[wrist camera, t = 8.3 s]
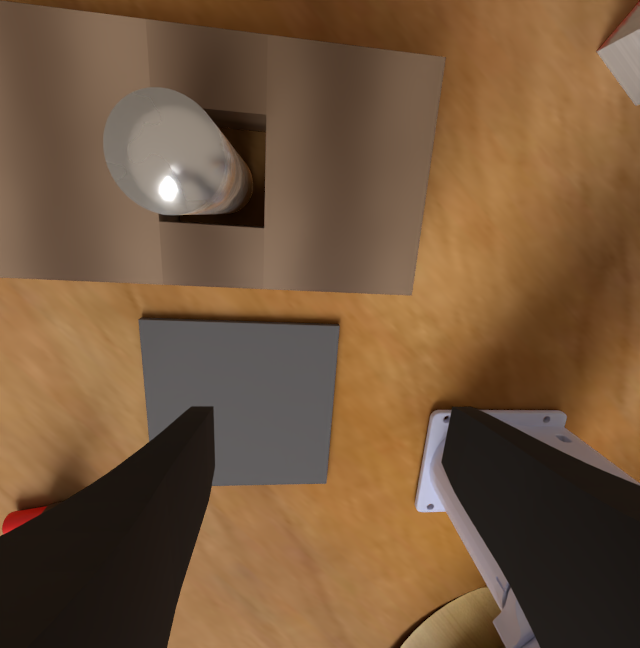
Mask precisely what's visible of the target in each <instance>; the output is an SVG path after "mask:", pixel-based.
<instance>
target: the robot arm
mask: <svg viewBox="0 0 640 648" xmlns="http://www.w3.org/2000/svg"><path fill="white" fill-rule="evenodd" d="M446 416H448V418H447V419H445V420H443V419H444V417H446ZM544 417H545V419H544ZM566 420H567V416H566V414H565V413H563V412H562V411H559V410H478V409H476V408H473V407H452V410H435V411H434V412H433V413H432V414H431V416H430V421H429V426H428V432H427V437H426V443H425V449H424V454H423V460H422V466H421V471H420V477H419V483H418V488H417V494H416V500H415V507H416V509H417V510H418V511H419V512H444V511H446V512H447V514H448V516H449V518H450V520H451V521H452V523H453V525H454V527H455V529H456V530H457V532H458V534H459V536H460V538H461V539H462V541H463V543H464V545H465V547H466V548H467V550H468V552H469V554H470V556H471V557H472V559H473V561H474V563H475V565H476V566H477V568H478V570H479V572H480V574H481V575H482V577H483V579H484V581H485V583H486V584H487V586H488V588H489V590H490V592H491V594H492V595H493V597H494V599H495V601H496V603H497V604H498V606H499V608H500V610H501V613H500V614H499V615H498V616H497V617H496V618H495V619H494V620H493V624H494V626H495V628H496V630H497V631H498V633H499V635H500V637H501V639H502V641H503V643H504V645H505V647H506V648H640V483H639V482H637V481H636V480H635V479H633V478H632V477H631V476H629V475H628V474H626V473H625V472H624V471H622V470H621V469H620V468H618V467H617V466H616V465H614V464H613V463H612V462H610V461H609V460H608V459H606V458H605V457H604V456H602V455H601V454H600V453H598V452H597V451H596V450H594V449H593V448H592V447H590V446H589V445H588V444H586V443H585V442H583V441H582V440H581V439H579V438H578V437H577V436H575V435H574V434H573V433H571V432H570V431H569V430H567V429H566V428H565V427H564V426H565V423H566ZM214 470H215V441H214V406H191V407H190V408H189V409H188V410H186V411H185V412H184V413H183V414H182V415H180V416H179V417H178V418H177V419H176V420H175V421H174V422H172V423H171V424H170V425H169V426H168V427H167V428H165V429H164V430H163V431H162V432H161V433H159V434H158V435H157V436H156V437H155V438H153V439H152V440H151V441H150V442H149V443H147V444H146V445H145V446H144V447H142V448H141V449H140V450H138V451H137V452H136V453H134V454H133V455H132V456H130V457H129V458H128V459H126V460H125V461H124V462H122V463H121V464H120V465H118V466H117V467H116V468H114V469H113V470H111V471H110V472H109V473H107V474H106V475H104V476H103V477H101V478H100V479H98V480H97V481H95V482H94V483H92V484H91V485H89V486H88V487H86V488H84V489H83V490H81V491H80V492H78V493H76V494H75V495H73V496H72V497H70V498H68V499H67V500H65V501H63V502H62V503H60V504H58V505H56V506H55V507H53V508H51V509H49V510H47V511H46V512H44V513H42V514H40V515H38V516H37V517H35V518H33V519H31V520H29V521H27V522H26V523H24V524H22V525H20V526H18V527H17V528H15V529H13V530H11V531H9V532H7V533H5V534H4V535H2V536H0V648H167V645H168V640H169V636H170V631H171V627H172V623H173V618H174V614H175V609H176V605H177V602H178V598H179V595H180V591H181V587H182V584H183V581H184V578H185V575H186V571H187V568H188V565H189V562H190V559H191V556H192V553H193V549H194V546H195V543H196V540H197V537H198V534H199V530H200V527H201V524H202V521H203V518H204V514H205V511H206V508H207V505H208V501H209V497H210V492H211V487H212V481H213V476H214ZM429 504H430V505H429Z"/></svg>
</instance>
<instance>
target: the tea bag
mask: <svg viewBox="0 0 640 648" xmlns="http://www.w3.org/2000/svg"><path fill="white" fill-rule="evenodd" d="M597 53H598V55H599V56H600V57H601V59H602V60H603V61H604V63H605V64H606V66H607V67H608V68H609V70H610V71H611V73H612V74H613V75H614V77H615V78H616V79H617V81H618V82H619V84H620V85H621V86H622V88H623V89H624V91H625V92H626V93H627V95H628V96H629V97H630V99H631V100H632V102H633V103H634V104H635V106H636V105H640V1H639V2H638V3H637V5H636V6H635V7H634V8H633V9H632V10H631V12H630V13H629V14H628V15H627V16H626V17H625V19H624V20H623V21H622V22H621V23H620V25H619V26H618V27H617V28H616V29H615V30H614V32H613V33H612V34H611V35H610V36H609V37H608V39H607V40H606V41H605V42H604V43H603V45H602V46H601V47H600V48H599V49H598V50H597Z"/></svg>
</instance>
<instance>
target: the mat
mask: <svg viewBox="0 0 640 648" xmlns="http://www.w3.org/2000/svg"><path fill="white" fill-rule="evenodd" d="M339 327H340V326H339V324H319V323H288V322H258V321H228V320H198V319H167V318H140V319H139V330H140V341H141V352H142V364H143V375H144V386H145V397H146V408H147V420H148V431H149V442H150V441H151V440H152V439H153V438H155V437H156V436H157V435H158V434H159V433H161V432H162V431H163V430H164V429H165V428H167V427H168V426H169V425H170V424H171V423H172V422H174V421H175V420H176V419H177V418H178V417H179V416H180V415H182V414H183V413H184V412H185V411H186V410H188V409H189V408H190V407H191V406H214V441H215V470H214V476H213V481H212V486H229V485H277V484H326V481H327V469H328V457H329V446H330V434H331V422H332V410H333V398H334V387H335V375H336V363H337V351H338V339H339Z"/></svg>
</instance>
